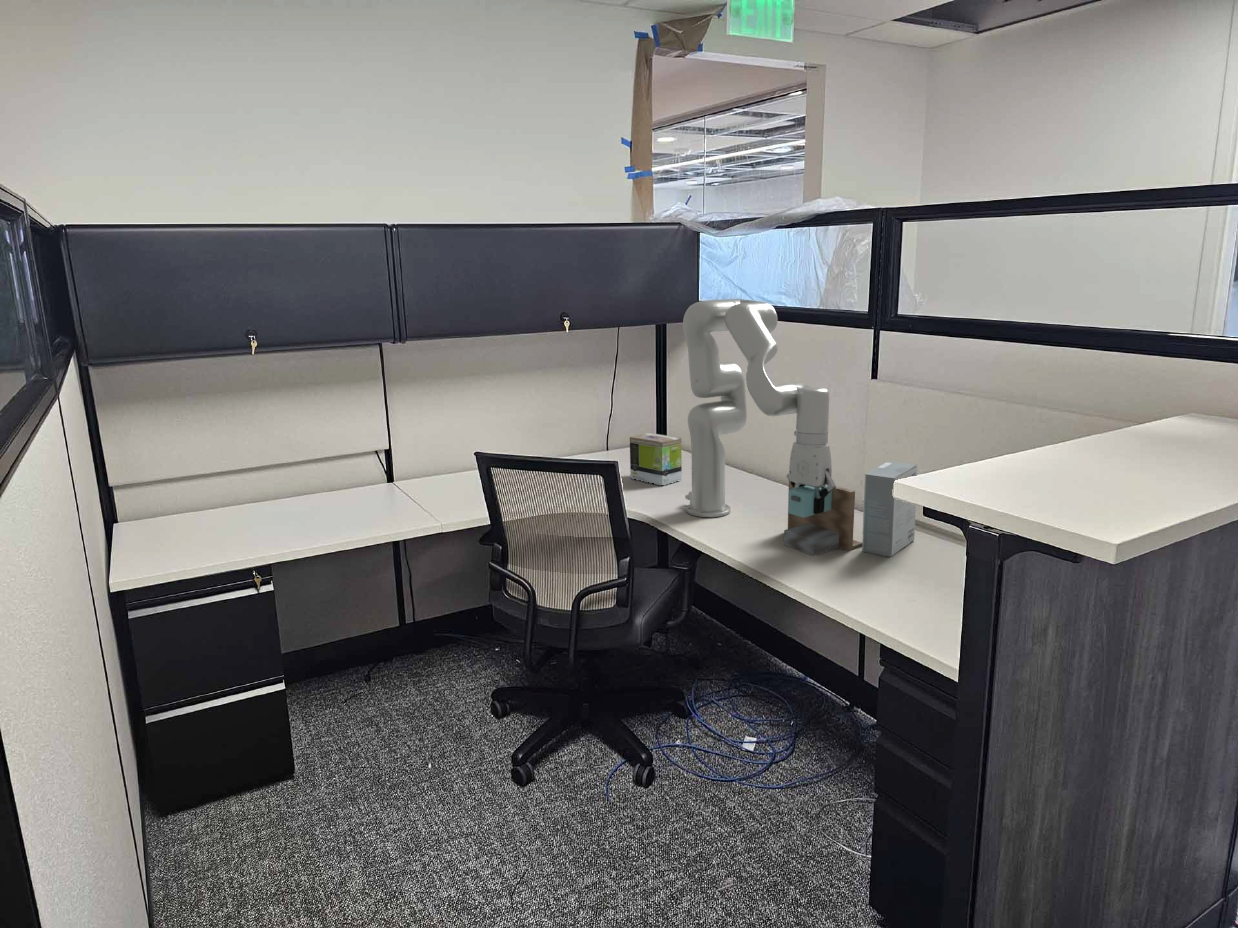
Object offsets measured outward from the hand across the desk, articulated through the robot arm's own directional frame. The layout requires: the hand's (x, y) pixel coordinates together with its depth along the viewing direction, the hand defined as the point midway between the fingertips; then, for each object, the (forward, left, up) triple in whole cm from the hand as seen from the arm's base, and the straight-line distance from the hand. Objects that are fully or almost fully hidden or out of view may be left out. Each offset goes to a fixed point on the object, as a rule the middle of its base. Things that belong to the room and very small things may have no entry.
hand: (809, 509), depth 203 cm
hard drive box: (+12, +16, -10) cm, 22 cm away
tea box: (-77, +13, -10) cm, 79 cm away
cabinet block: (0, 0, -1) cm, 1 cm away
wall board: (-2, +4, -10) cm, 11 cm away
